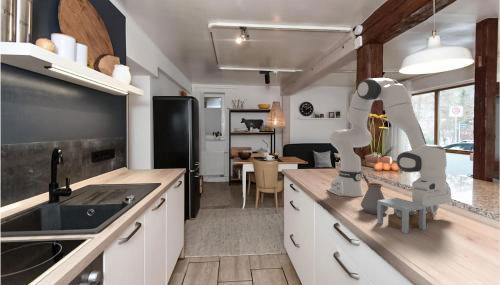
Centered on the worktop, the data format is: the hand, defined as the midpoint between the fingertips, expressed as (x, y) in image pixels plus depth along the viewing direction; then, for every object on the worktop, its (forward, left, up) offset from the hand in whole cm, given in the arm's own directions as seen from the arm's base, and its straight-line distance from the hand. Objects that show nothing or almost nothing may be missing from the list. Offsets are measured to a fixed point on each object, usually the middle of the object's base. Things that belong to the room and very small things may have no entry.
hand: (432, 215), depth 102 cm
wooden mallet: (0, -12, -2) cm, 12 cm away
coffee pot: (-21, -12, -2) cm, 24 cm away
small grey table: (0, -19, -2) cm, 19 cm away
